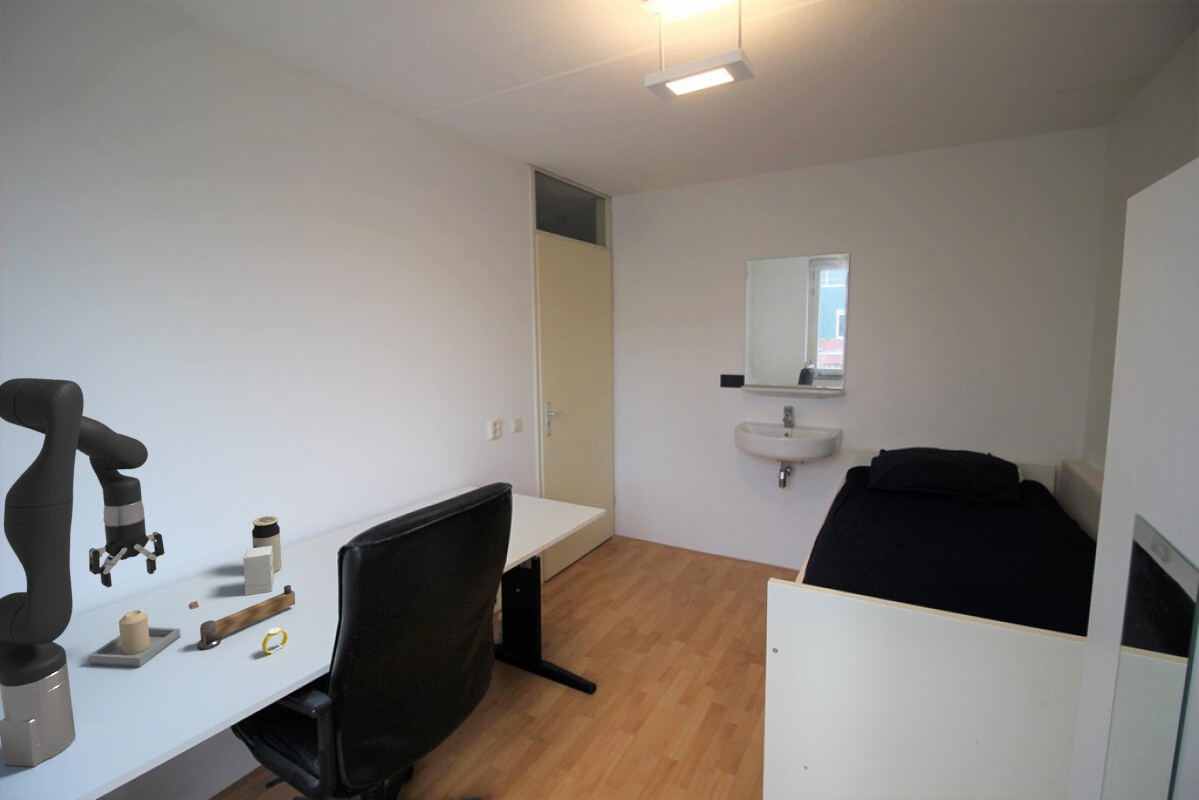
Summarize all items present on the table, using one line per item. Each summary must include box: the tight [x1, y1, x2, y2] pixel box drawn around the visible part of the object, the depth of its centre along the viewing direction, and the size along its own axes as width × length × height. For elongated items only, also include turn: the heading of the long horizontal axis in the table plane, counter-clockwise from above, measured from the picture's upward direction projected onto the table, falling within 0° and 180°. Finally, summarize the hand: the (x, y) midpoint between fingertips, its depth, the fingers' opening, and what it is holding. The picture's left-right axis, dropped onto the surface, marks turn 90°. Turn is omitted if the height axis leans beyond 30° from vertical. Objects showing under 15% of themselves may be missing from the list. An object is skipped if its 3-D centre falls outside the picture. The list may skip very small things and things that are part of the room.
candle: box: [118, 609, 150, 655], centre depth 138 cm, size 6×6×10 cm
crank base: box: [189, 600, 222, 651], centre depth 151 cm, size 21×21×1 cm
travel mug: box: [251, 515, 282, 573], centre depth 182 cm, size 8×8×18 cm
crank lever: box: [199, 584, 296, 644], centre depth 151 cm, size 24×3×6 cm, turn 149°
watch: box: [261, 626, 288, 654], centre depth 141 cm, size 6×3×6 cm, turn 152°
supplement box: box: [243, 546, 275, 596], centre depth 170 cm, size 7×7×13 cm
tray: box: [88, 626, 181, 668], centre depth 139 cm, size 13×13×2 cm
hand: (130, 579), depth 136 cm, fingers open, 8 cm apart
